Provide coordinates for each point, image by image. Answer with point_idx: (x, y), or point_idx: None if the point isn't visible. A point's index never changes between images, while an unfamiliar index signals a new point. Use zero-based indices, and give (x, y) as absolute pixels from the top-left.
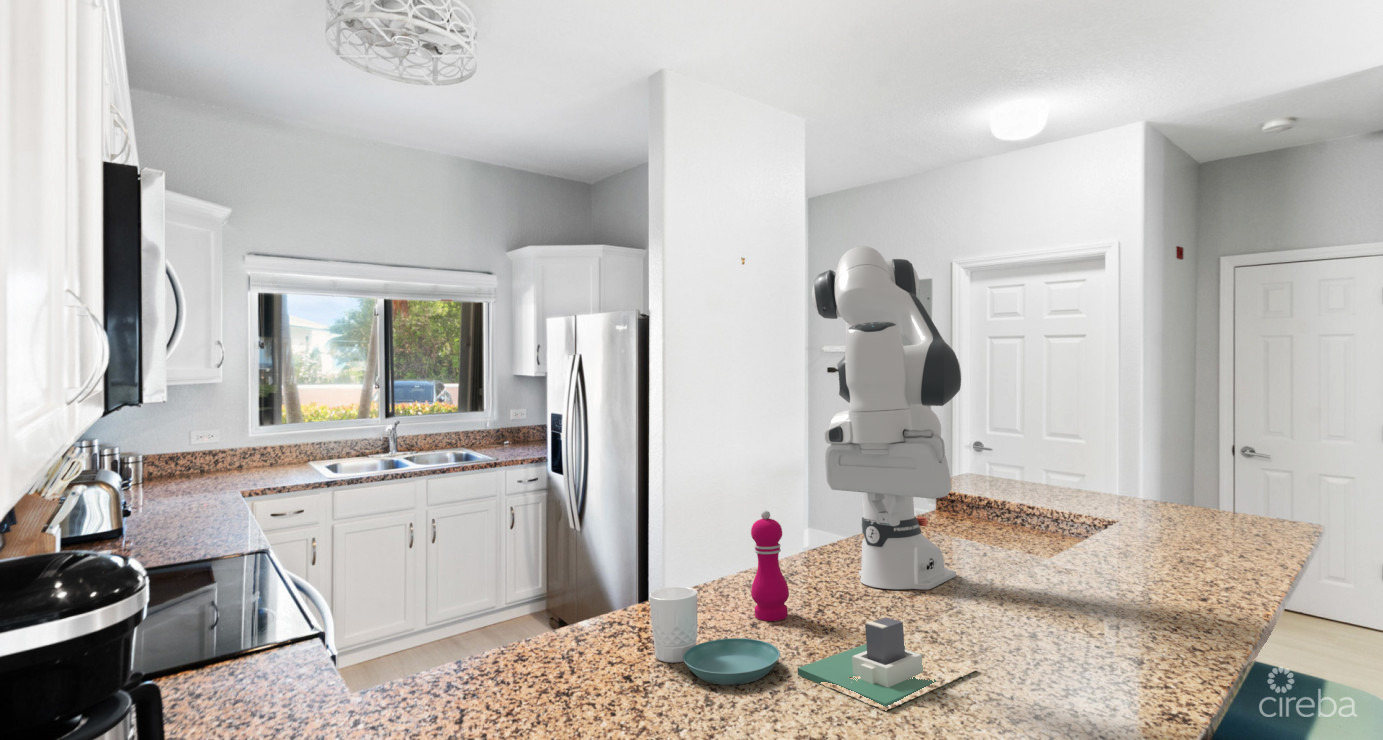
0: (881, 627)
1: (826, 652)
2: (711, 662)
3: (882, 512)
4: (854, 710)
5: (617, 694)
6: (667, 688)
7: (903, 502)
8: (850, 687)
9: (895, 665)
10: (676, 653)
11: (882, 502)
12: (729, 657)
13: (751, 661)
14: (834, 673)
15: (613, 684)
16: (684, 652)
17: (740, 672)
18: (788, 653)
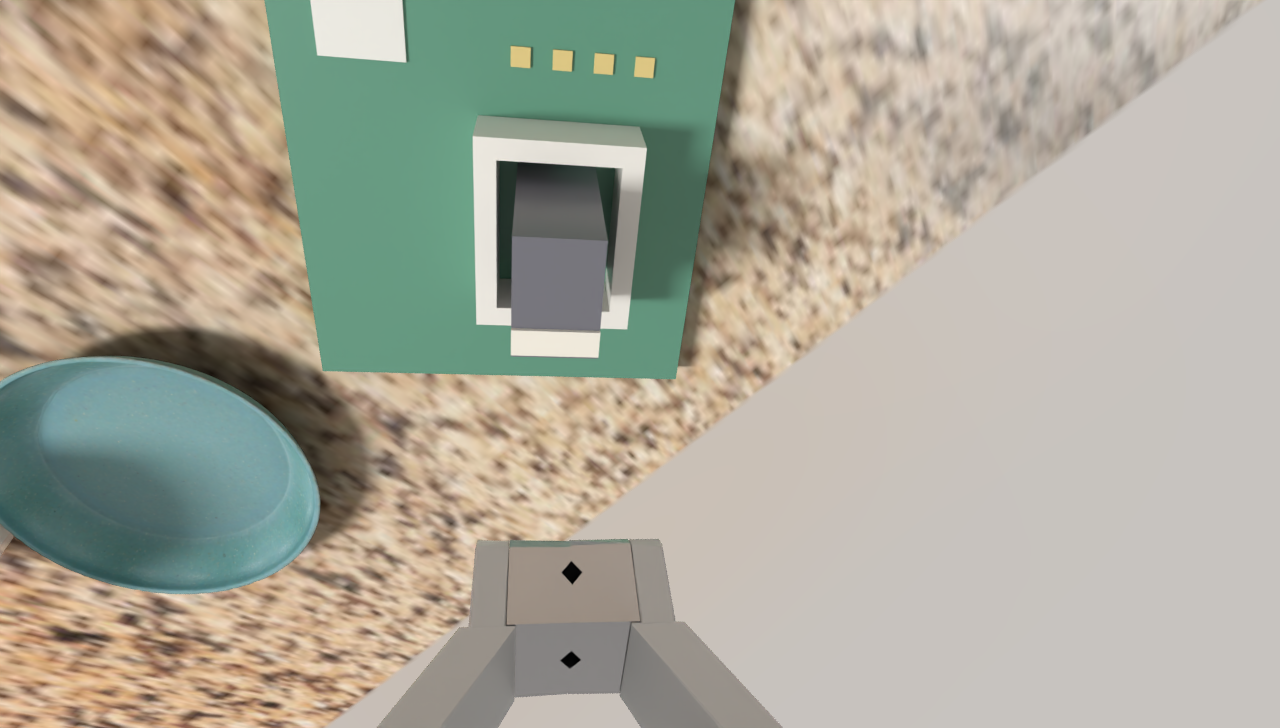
0: (591, 356)
1: (193, 139)
2: (79, 471)
3: (532, 676)
4: (609, 407)
5: (172, 676)
6: (202, 605)
7: (767, 724)
8: (544, 367)
9: (630, 288)
10: (2, 549)
11: (461, 711)
12: (63, 417)
13: (144, 394)
14: (436, 328)
15: (102, 665)
16: (4, 531)
17: (308, 540)
18: (120, 249)
